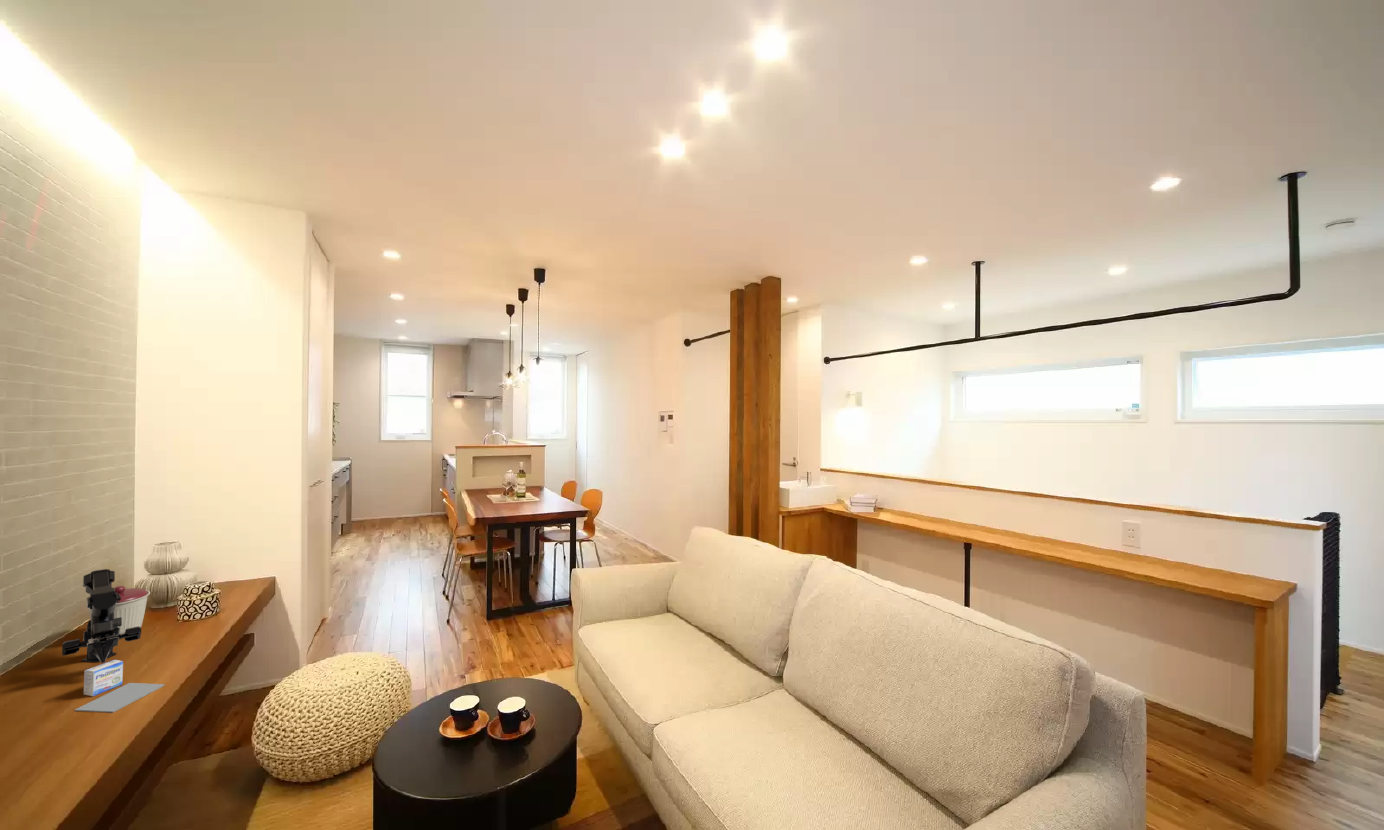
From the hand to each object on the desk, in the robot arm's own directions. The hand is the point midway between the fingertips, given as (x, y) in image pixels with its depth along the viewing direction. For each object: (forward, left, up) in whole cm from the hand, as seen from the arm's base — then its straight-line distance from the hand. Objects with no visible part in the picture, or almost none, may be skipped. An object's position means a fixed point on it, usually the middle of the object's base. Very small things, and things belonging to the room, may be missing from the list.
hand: (103, 662), depth 180 cm
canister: (-32, +33, -7) cm, 46 cm away
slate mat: (+18, -9, -7) cm, 21 cm away
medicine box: (+7, -5, -7) cm, 11 cm away
